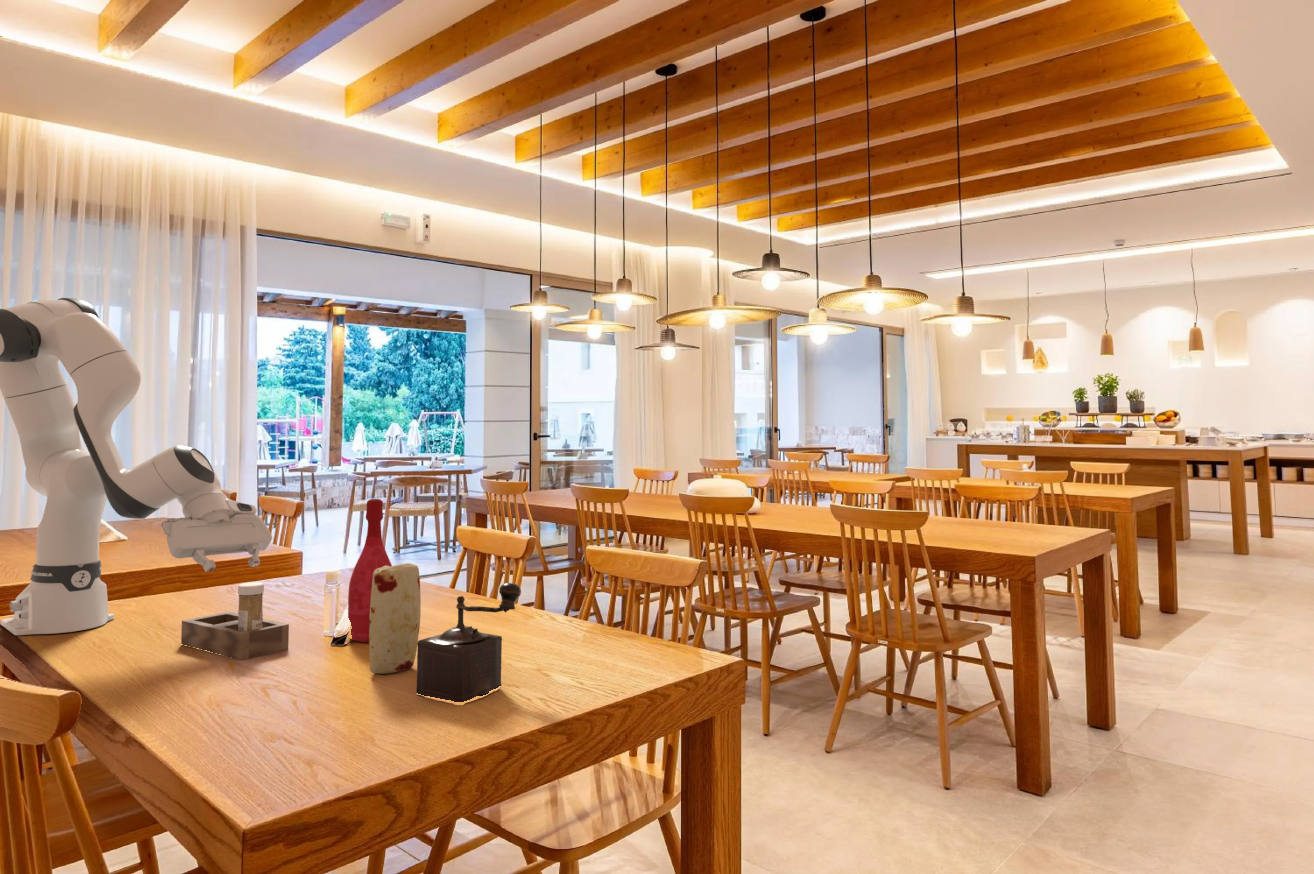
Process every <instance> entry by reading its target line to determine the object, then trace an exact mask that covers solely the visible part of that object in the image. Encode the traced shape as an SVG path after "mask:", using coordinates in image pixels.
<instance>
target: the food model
mask: <svg viewBox="0 0 1314 874" xmlns="http://www.w3.org/2000/svg"><path fill="white" fill-rule="evenodd" d="M421 597H422V596H421V579H420V568H419V566H418V565H416V564H414V563H411V562H407V563H400V564H396V565H392V566H391V567H389V566H383V567H381V568H378V569H376V570H375V571H374V573H373V580H372V591H371V603H370V618H369V624H370V628H369V642H368V644H369V669H370V672H371V673H373V674H375V673H377V674H378V675H379V674H390V673H397V672H402V671H407V670H410V669H412V668H413V666H414V664H415V661H416V657H417V656H416V655H417V652H418V641H419V636H420V626H421V612H422V611H421V607H422V606H421V604H422V601H421Z"/></svg>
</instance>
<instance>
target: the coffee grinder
mask: <svg viewBox="0 0 1314 874" xmlns="http://www.w3.org/2000/svg"><path fill="white" fill-rule="evenodd" d="M498 591H499V594H500V596H501V603H500V604H499V605H498V607H493V606H492V607H487V606H480V605H479V606H473V605H472V606H467V605H465V603H464V602H465V599H466V598H465V596H462V595H458V596H457V599H456V602H457V604H456V607H455V608H456V609H457V616H458V617H457V625H456V626H454V627H451V628H449V629H447V630H444V632H442V633H441V634H437V635H434V636H429V637H425V638H423V639H420V640H419V639H418V644H417V651H416V655H417V656H416V662H417V663H416V692H415V694H416V693H418V694H421V695H424V696H430V697H435V698H440V699H445V700H451V701H454V702H464V701H467V700H470V699H472V698H474V697H476V696H483V695H486V694H488V693H489V691H491V690H493V689H496V688H498V687H499V686H502V654H503V653H502V652H503V651H502V649H503V648H502V647H503V645H502V643H503V637H502V636H501V635H497V634H492V633H491V634H490V633H485V632H480V631H479V630H478V628H474V627H473V626H471V625H470V626H468V625H465V623H464V611H466V612H483V613H485V612H486V613H499V612H504V613H508V611H510V610H516V606H515V605H516V604H515V603H516V600H518V599H519V597H520V596H521V594H522V589H521V587H520V585H518V584H516V583H512V582H506V583H503V584H501V585H500V587H499V590H498ZM502 687H503V686H502Z"/></svg>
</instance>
